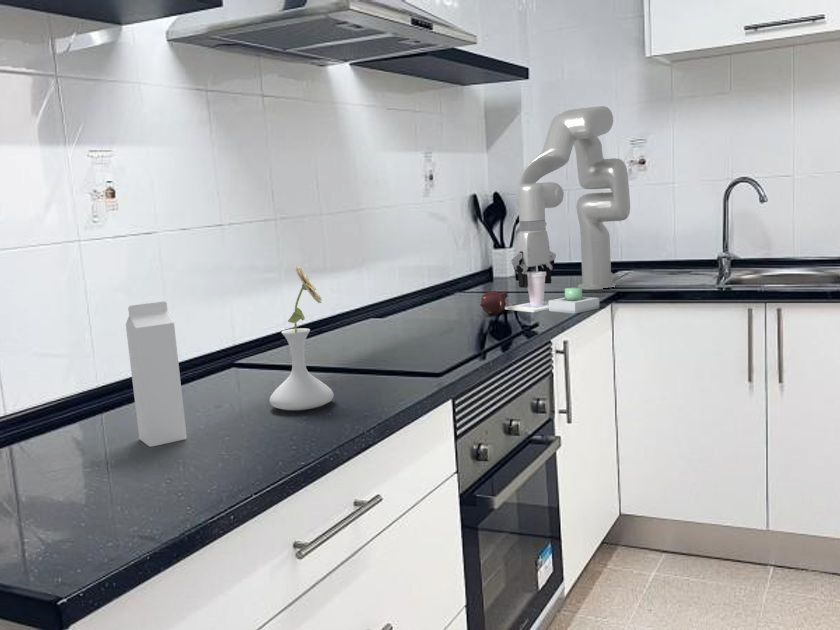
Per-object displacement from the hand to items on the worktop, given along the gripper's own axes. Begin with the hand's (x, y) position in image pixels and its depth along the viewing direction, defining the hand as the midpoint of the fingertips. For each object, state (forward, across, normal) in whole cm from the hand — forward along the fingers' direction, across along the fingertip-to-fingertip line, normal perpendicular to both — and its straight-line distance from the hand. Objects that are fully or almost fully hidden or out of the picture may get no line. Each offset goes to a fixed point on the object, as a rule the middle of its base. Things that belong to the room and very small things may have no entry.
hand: (535, 285), depth 249 cm
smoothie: (+6, 0, 0) cm, 6 cm away
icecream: (+7, +15, -2) cm, 17 cm away
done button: (+4, -2, +13) cm, 14 cm away
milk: (+7, +131, +46) cm, 139 cm away
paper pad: (+7, 0, 0) cm, 7 cm away
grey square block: (+7, -2, +13) cm, 15 cm away
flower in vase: (+7, +105, +46) cm, 115 cm away
